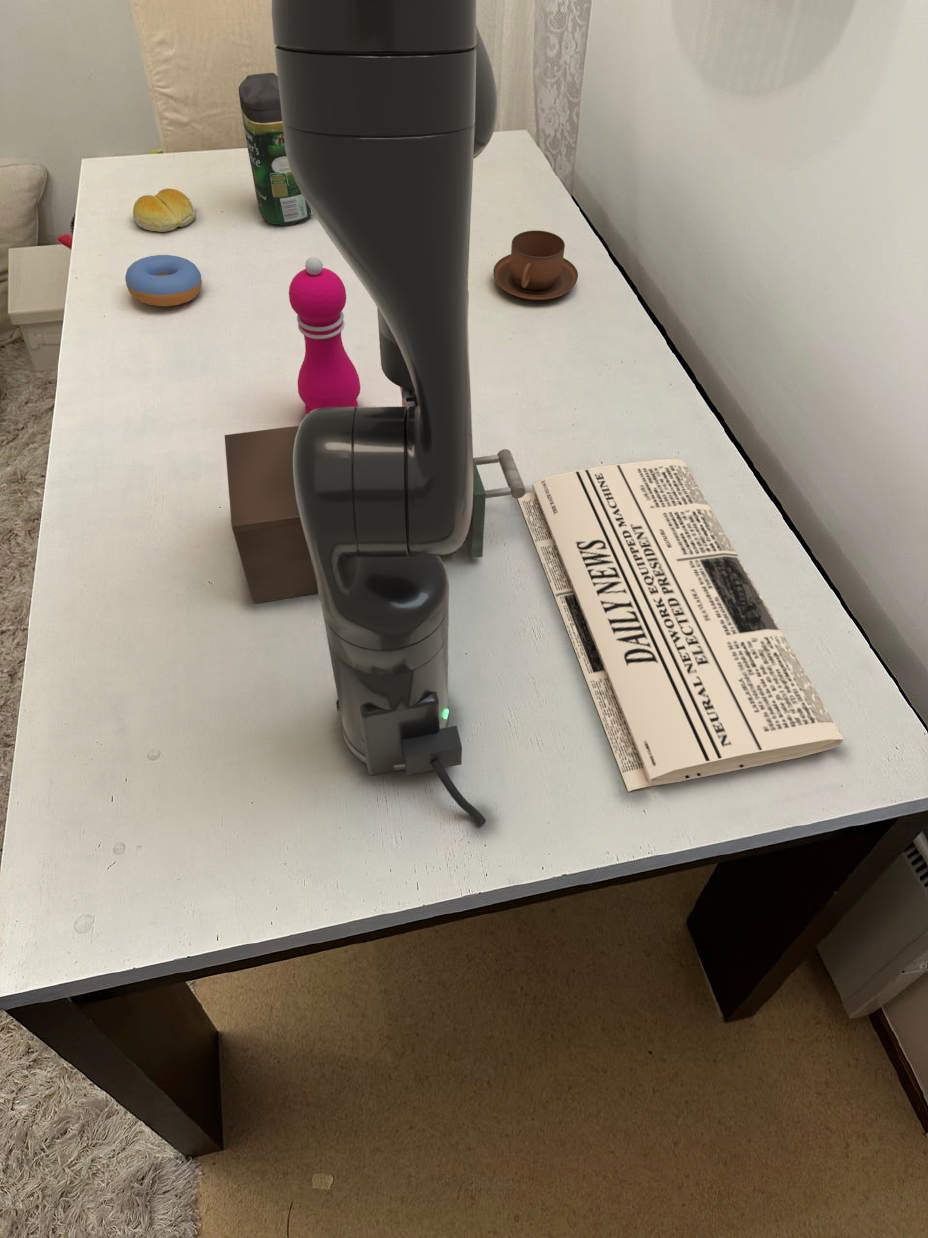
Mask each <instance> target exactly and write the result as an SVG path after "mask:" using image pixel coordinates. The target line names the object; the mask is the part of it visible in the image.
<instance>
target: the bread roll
mask: <svg viewBox="0 0 928 1238" xmlns="http://www.w3.org/2000/svg"><path fill="white" fill-rule="evenodd" d="M132 208H133V209H132V216H133V220H134V222H135V223H136V224H137V226H138V227H140V228H141V229H143V230H147V231H152V232H159V233H165V232H171V231H175V229H177V228H178V227H180V228H182V227H186V226H188V225H189V224H191V223H192V222H193V221H194V220H195V218H196V214H197V212H196V211H195V210H194V207H193V204H192V201H191V200H190V198H189V197H188V196H187V195H186V194H185V193H183V192H182V191H181V190H178V189H175V188H163V189H161V190H159V191H158V192H157V193H156V194H155V195H153V194H152V195H151V194H150V195H149V194H145V195H141V196H140V197H138V199H137V200H136V201H135V203H134V204H133V207H132Z"/></svg>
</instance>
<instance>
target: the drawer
mask: <svg viewBox="0 0 928 1238" xmlns="http://www.w3.org/2000/svg"><path fill="white" fill-rule="evenodd" d="M497 463H499V466H500V468H501V471H502V474H503V476H504V479H505V481H506V484H507V487H501V488H500V487H499V488H493V489H485V486H484V484H483V481H482V478H481V475H480V472H479V468H478V466H483V465H489V464H490V465H491V464H497ZM525 493H527V489H526V486H525V484H524V482H523V480H522V477H521V475H520V471H519V469H518V467H517V464H516V461H515V459H514V457H513V454H512V452H511V450H509V449H507V448H504V449H503V448H502V449H501V450H499V451H498V453H497V454H492V455H484V456H478V457H473V507H472V516H471V522H470V526H469V530H468V534H467V536H466V538H465V540H464V541H465V543H466V546H467V549H468V552H469V556H470V558H471V559H478V558H482V557H483V556H484V555H483V554H484V536H485V516H486V499H492V498H498V497H505V496H511V497H512V498H514V499H518V498H521V497H523V496H524V495H525ZM456 553H457V550H456V551H454V552H452V553H449V554H448V555H451V554H456ZM444 555H446V554H444ZM444 555H443V556H444Z"/></svg>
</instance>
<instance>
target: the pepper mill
mask: <svg viewBox="0 0 928 1238" xmlns="http://www.w3.org/2000/svg"><path fill="white" fill-rule="evenodd" d="M323 266H324V265H323V262H322V260H321V259H320V258H319V257H317V256H310V257H308V258H307V259H306V260H305V263H304V267H305V268H304V269H302V270H300V271H299V272H298V273H296V274H295V275H294V276H293V278H292V279H291V282H290V284H289V288H288V298H289V299H288V300H289V304H290V307H291V308H292V310H293V311H294V312H295V314H297V316H296V321H297V329H298V330H299V332H300V333H301V334H302V335H303V338H304V349H305V350H304V351H305V352H304V358H303V361H302V363H301V365H300V368H299V371H298V377H297V393H298V396H299V398H300V400H301V401H302V403H303V404H304V411H305V416H306V415H307V414H308V413H310V412H311V411H313V410H315V409H317V408H323V407H359V402H358V400H357V399H358V398H359V395H360V394H361V382H360V376H359V373H358V371H357V369H356V367H355V364H354V363H353V362H352V360H351V358H350V356H349V355H348V352H347V351H346V349H345V347H344V343H343V337H342V331H343V330H344V328H345V320H344V318H345V317H344V316H345V315H344V312H343V310H344V309H345V306H346V302H347V291H346V287H345V285H344V282H343V279H341V278H340V276H339V275H338V274H337V273H336V272H335V271H333V270H331V269H329V268H326V267H323Z"/></svg>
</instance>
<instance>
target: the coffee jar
mask: <svg viewBox="0 0 928 1238" xmlns="http://www.w3.org/2000/svg"><path fill="white" fill-rule="evenodd" d="M238 97H239V106H240V112H241V118H242V124H243V129H244V136H245V141H246V147H247V153H248V159H249V165H250V169H251V173H252V179H253V184H254V185H253V186H254V191H255V192H254V193H255V197H256V201H257V206H258V210H259V212H260V215H261V216H262V217H263V219H264V220H265V221H266V222H267V223H269V224H272V225H283V226H290V225H295V224H298V223H300V222H303V221H304V220H307V219H308V218H310V216H311V214H312V210H311V209H310V207H309V206H308V204H307V202H306V200H305V199H304V197H303V195H302V193H301V191H300V189H299V187H298V185H297V183H296V181H295V179H294V177H293V174H292V171H291V169H290V166H289V163H288V159H287V155H286V151H285V143H284V135H283V122H282V114H281V105H280V95H279V86H278V76H277V74H276V73H275V72H263V73H256V74H249V75H247V76H246V77H245V78H244V79H243V80H242V81H241V83H240V84H239V86H238Z"/></svg>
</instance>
